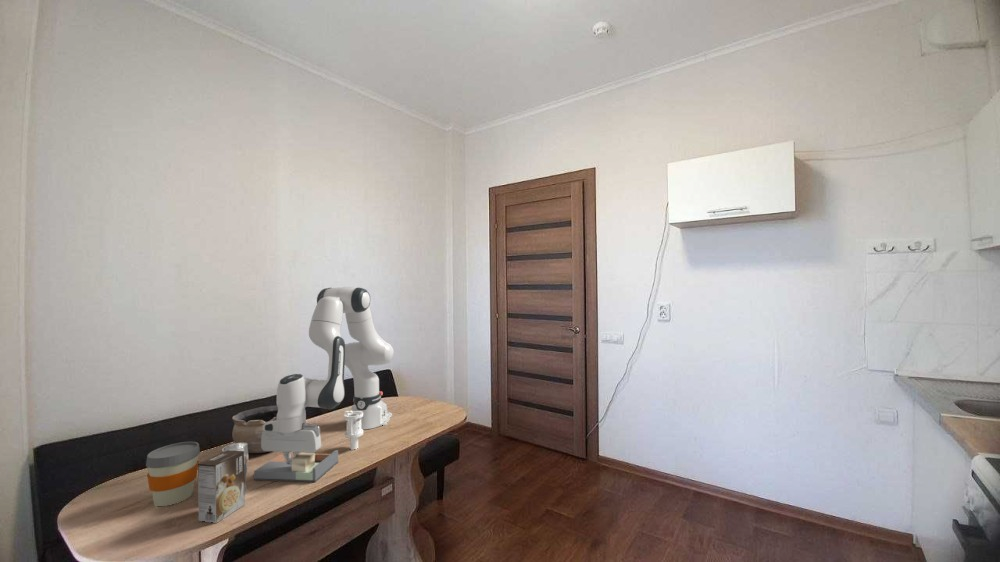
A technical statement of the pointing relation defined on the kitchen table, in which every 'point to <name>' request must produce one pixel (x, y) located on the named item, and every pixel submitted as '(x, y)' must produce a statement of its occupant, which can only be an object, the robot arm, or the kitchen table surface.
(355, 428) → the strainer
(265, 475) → the board
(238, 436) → the ceramic bowl
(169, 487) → the reusable coffee cup
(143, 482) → the kitchen table surface
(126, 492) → the kitchen table surface
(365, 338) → the robot arm
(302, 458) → the birch block
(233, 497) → the coffee box
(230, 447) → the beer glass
